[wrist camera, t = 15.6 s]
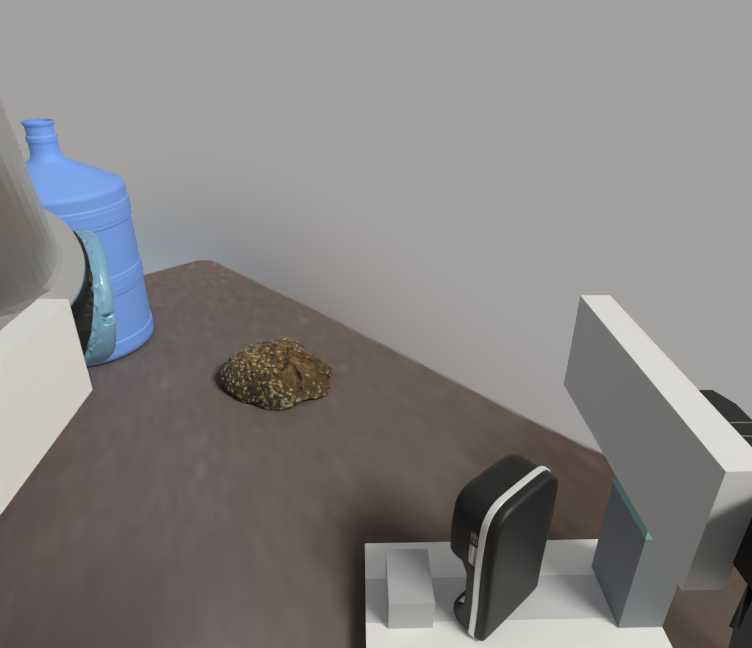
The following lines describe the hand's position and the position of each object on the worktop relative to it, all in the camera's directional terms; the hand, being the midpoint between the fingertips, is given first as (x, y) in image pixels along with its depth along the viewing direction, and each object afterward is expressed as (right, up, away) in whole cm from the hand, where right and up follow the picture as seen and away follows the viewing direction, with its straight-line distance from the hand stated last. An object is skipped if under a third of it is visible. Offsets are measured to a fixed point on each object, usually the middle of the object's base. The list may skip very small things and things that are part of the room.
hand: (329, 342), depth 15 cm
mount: (+10, -20, +26) cm, 35 cm away
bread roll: (-10, -7, +53) cm, 55 cm away
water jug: (-37, -2, +62) cm, 72 cm away
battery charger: (+9, -19, +26) cm, 33 cm away
